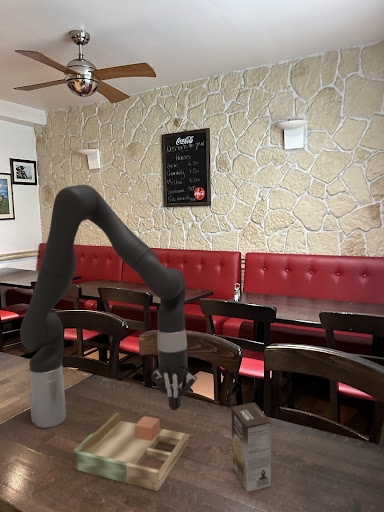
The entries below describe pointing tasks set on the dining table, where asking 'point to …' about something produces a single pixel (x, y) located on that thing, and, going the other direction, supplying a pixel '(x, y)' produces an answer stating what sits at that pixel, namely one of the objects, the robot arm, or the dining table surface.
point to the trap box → (128, 454)
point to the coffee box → (251, 446)
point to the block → (147, 428)
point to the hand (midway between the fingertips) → (175, 408)
